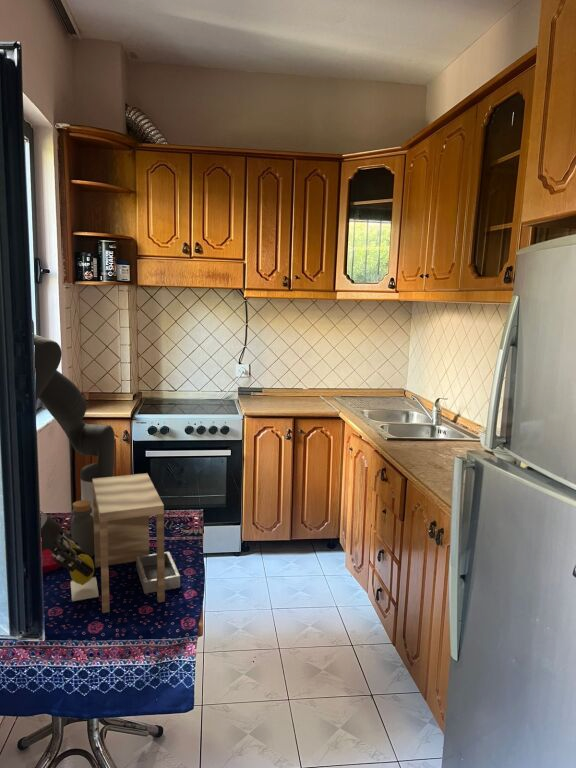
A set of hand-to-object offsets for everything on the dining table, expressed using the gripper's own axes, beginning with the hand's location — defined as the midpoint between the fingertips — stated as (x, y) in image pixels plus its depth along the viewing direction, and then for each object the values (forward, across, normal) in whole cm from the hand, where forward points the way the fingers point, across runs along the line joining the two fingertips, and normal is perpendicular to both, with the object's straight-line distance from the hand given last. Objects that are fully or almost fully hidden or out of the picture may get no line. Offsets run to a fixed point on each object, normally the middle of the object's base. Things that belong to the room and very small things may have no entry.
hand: (89, 567), depth 135 cm
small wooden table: (+10, 0, -2) cm, 10 cm away
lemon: (+2, 0, +4) cm, 5 cm away
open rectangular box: (+15, 0, -8) cm, 17 cm away
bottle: (+4, +19, +4) cm, 20 cm away
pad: (+3, 0, +5) cm, 6 cm away
